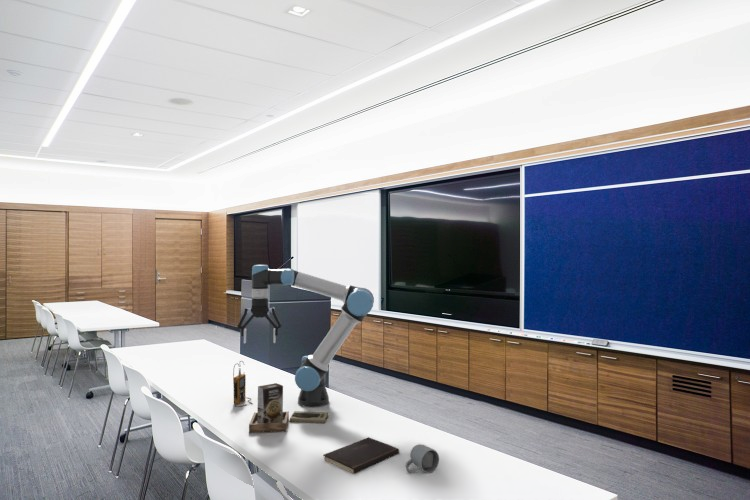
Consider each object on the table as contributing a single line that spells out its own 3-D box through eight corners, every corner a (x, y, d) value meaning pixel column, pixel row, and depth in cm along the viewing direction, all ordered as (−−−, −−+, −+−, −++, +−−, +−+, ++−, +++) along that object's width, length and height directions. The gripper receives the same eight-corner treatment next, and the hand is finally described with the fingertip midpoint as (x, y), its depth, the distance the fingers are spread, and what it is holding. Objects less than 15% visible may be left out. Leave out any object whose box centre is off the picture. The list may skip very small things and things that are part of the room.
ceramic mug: (425, 461, 170) (425, 439, 170) (439, 470, 162) (439, 447, 162) (400, 468, 164) (400, 446, 164) (413, 478, 157) (413, 454, 157)
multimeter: (248, 408, 228) (249, 366, 228) (229, 406, 230) (229, 365, 230) (262, 398, 243) (262, 359, 243) (244, 397, 245) (244, 358, 245)
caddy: (288, 419, 212) (288, 411, 212) (286, 431, 198) (286, 423, 198) (254, 420, 211) (254, 412, 211) (248, 433, 196) (249, 424, 196)
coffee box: (263, 428, 199) (264, 389, 199) (256, 423, 204) (257, 385, 204) (283, 423, 205) (283, 385, 205) (276, 419, 210) (276, 382, 210)
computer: (289, 423, 209) (289, 415, 209) (294, 417, 217) (294, 409, 217) (324, 424, 207) (324, 417, 207) (328, 418, 215) (328, 411, 215)
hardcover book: (323, 461, 171) (323, 454, 171) (368, 443, 187) (368, 437, 187) (353, 475, 160) (354, 468, 160) (399, 455, 176) (399, 448, 176)
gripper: (231, 298, 220) (230, 344, 220) (286, 298, 222) (286, 343, 222) (234, 297, 227) (234, 341, 227) (287, 296, 230) (287, 340, 230)
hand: (259, 342), depth 225 cm, fingers open, 13 cm apart
